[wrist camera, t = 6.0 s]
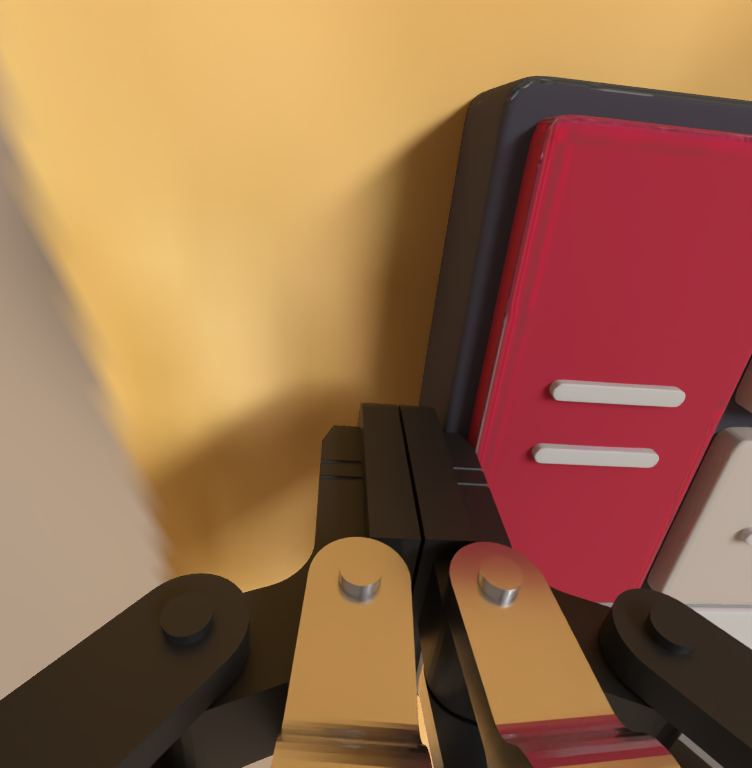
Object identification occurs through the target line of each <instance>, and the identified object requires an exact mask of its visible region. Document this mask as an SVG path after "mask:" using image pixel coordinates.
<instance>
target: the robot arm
mask: <svg viewBox="0 0 752 768" xmlns="http://www.w3.org/2000/svg"><path fill="white" fill-rule="evenodd" d="M481 469H482V467H481V465H480V462H479V459H478V457H477V454H476V452H475V449H474V448H473V447H472V446H471V445H470V444H469V443H468V442H467V441H466V440H465V439H464V438H463V437H462V436H461V435H460V434H459V433H448V432H442V429H441V425H440V422H439V419H438V416H437V412H436V410H435V408H434V407H421V406H407V405H398V407H397V405H390V404H375V403H361V404H360V410H359V418H358V426H357V427H350V426H333V427H332V429H331V430H330V431H329V432H328V434H327V435H326V436H325V438H324V439H323V440H322V450H321V463H320V477H319V490H318V504H317V519H316V533H315V546H314V550H313V552H312V555H311V556H310V558H309V560H308V561H307V563H306V564H305V565H304V566H303V567H302V568H301V569H300V570H299V571H298V572H297V573H295V574H294V575H292V576H291V577H289V578H288V579H286V580H284V581H282V582H279V583H277V584H274V585H271V586H267V587H263V588H260V589H256V590H252V591H248V592H245V593H242V591H241V590H240V589H239V588H238V587H237V586H236V585H235V584H234V583H232V582H231V581H229V580H228V579H225V578H223V577H220V576H217V575H212V574H202V573H201V574H190V575H185V576H180V577H177V578H174V579H171V580H169V581H167V582H165V583H163V584H161V585H160V586H158V587H156V588H155V589H153V590H152V591H150V592H149V593H148V594H146V595H145V596H144V597H142V598H141V599H140V600H138V601H137V602H135V603H134V604H133V605H131V606H130V607H128V608H127V609H126V610H124V611H123V612H122V613H120V614H119V615H117V616H116V617H115V618H113V619H112V620H110V621H109V622H108V623H106V624H105V625H104V626H102V627H101V628H100V629H98V630H97V631H95V632H94V633H93V634H91V635H90V636H88V637H87V638H86V639H84V640H83V641H82V642H80V643H79V644H77V645H76V646H75V647H73V648H72V649H71V650H69V651H68V652H66V653H65V654H64V655H62V656H61V657H60V658H58V659H57V660H55V661H54V662H53V663H51V664H50V665H48V666H47V667H46V668H44V669H43V670H42V671H40V672H39V673H37V674H36V675H35V676H33V677H32V678H31V679H29V680H28V681H27V682H25V683H24V684H22V685H21V686H20V687H18V688H17V689H15V690H14V691H13V692H11V693H10V694H9V695H7V696H6V697H4V698H3V699H2V700H0V768H242V767H244V766H246V765H249V764H251V763H254V762H256V761H259V760H261V759H264V758H266V757H269V756H271V755H273V759H272V764H271V768H432V765H431V759H430V755H429V752H428V749H427V747H426V745H424V744H422V742H421V738H420V733H419V724H418V706H417V687H416V668H415V649H414V641H420V644H421V651H422V658H423V666H422V670H421V673H420V678H419V687H418V688H419V696H420V701H421V706H422V711H423V716H424V721H425V726H426V731H427V736H428V741H429V746H430V751H431V757H432V762H433V767H434V768H712V767H711V766H710V765H709V764H708V763H706V762H705V761H704V760H703V759H702V758H700V757H699V756H698V755H697V754H696V753H695V752H693V751H692V750H691V749H690V748H689V747H688V746H686V745H685V744H684V743H683V742H682V741H680V740H679V739H678V738H679V737H680V736H681V735H682V733H683V734H684V735H685V736H686V737H688V738H689V739H690V740H691V741H692V742H694V743H695V744H696V745H697V746H698V747H700V748H701V749H702V750H703V751H704V752H705V753H707V754H708V755H709V756H710V757H711V758H713V759H714V760H715V761H716V762H717V763H719V764H720V765H721V766H722V767H723V768H752V649H750V648H749V647H747V646H746V645H744V644H743V643H741V642H740V641H739V640H737V639H736V638H734V637H733V636H731V635H730V634H728V633H727V632H725V631H724V630H722V629H721V628H719V627H718V626H716V625H715V624H713V623H712V622H711V621H709V620H708V619H706V618H705V617H703V616H702V615H700V614H699V613H697V612H696V611H694V610H693V609H691V608H690V607H688V606H687V605H685V604H684V603H682V602H680V601H679V600H677V599H675V598H673V597H671V596H669V595H666V594H664V593H661V592H658V591H654V590H651V589H643V588H634V589H630V590H626V591H624V592H622V593H621V594H620V595H619V596H617V598H616V600H615V601H614V603H613V605H612V607H608V606H605V605H602V604H599V603H596V602H592V601H589V600H586V599H583V598H580V597H576V596H573V595H570V594H567V593H564V592H562V591H559V590H557V589H555V588H553V587H551V586H549V585H548V583H547V581H546V579H545V578H544V576H543V574H542V573H541V571H540V570H539V569H538V568H537V566H536V565H535V564H534V563H533V562H532V561H531V560H530V559H528V558H527V557H526V556H524V555H523V554H521V553H520V552H518V551H516V550H515V549H513V548H512V546H511V543H510V540H509V538H508V535H507V533H506V530H505V527H504V525H503V522H502V520H501V517H500V514H499V512H498V509H497V506H496V504H495V501H494V499H493V496H492V493H491V491H490V488H489V487H487V484H488V483H487V480H486V478H485V475H484V472H482V470H481Z"/></svg>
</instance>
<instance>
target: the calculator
mask: <svg viewBox="0 0 752 768" xmlns="http://www.w3.org/2000/svg"><path fill="white" fill-rule="evenodd" d="M419 406H421V407H434V408H435V410H436V412H437V416H438V419H439V422H440V425H441V429H442V432H448V433H459V434H460V435H461V436H462V437H463V438H464V439H465V440H466V441H467V442H468V443H469V444H470V445H471V446H472V447H473V448H474V449H475V452H476V454H477V457H478V459H479V462H480V465H481V467H482V469H481V470H482V472H484V475H485V478H486V480H487V483H488V484H487V487H489V488H490V491H491V493H492V496H493V499H494V501H495V504H496V506H497V509H498V512H499V514H500V517H501V520H502V522H503V525H504V527H505V530H506V533H507V535H508V538H509V540H510V543H511V546H512V548H513V549H515V550H516V551H518V552H520V553H521V554H523V555H524V556H526V557H527V558H528V559H530V560H531V561H532V562H533V563H534V564H535V565H536V566H537V568H538V569H539V570H540V571H541V573H542V574H543V576H544V578H545V579H546V581H547V583H548V585H549V586H551V587H553V588H555V589H557V590H559V591H562V592H564V593H567V594H570V595H573V596H576V597H580V598H583V599H586V600H589V601H592V602H596V603H599V604H602V605H605V606H608V607H612V605H613V603H614V601H615V600H616V598H617V596H619V595H620V594H621V593H622V592H624V591H626V590H630V589H634V588H643V589H651V590H654V591H658V592H661V593H664V594H666V595H669V596H671V597H673V598H675V599H677V600H679V601H680V602H682V603H684V604H685V605H687V606H688V607H690V608H691V609H693V610H694V611H696V612H697V613H699V614H700V615H702V616H703V617H705V618H706V619H708V620H709V621H711V622H712V623H713V624H715V625H716V626H718V627H719V628H721V629H722V630H724V631H725V632H727V633H728V634H730V635H731V636H733V637H734V638H736V639H737V640H739V641H740V642H741V643H743V644H744V645H746V646H747V647H749V648H750V649H752V101H745V100H737V99H729V98H720V97H712V96H704V95H696V94H688V93H680V92H672V91H664V90H655V89H647V88H639V87H631V86H623V85H615V84H607V83H598V82H590V81H582V80H574V79H566V78H558V77H546V76H532V77H526V78H522V79H520V80H517V81H514V82H511V83H508V84H505V85H502V86H499V87H496V88H493V89H490V90H488V91H485V92H483V93H481V94H479V95H478V96H477V97H476V98H475V99H474V100H473V101H472V102H471V104H470V106H469V108H468V111H467V114H466V119H465V123H464V129H463V135H462V141H461V147H460V153H459V159H458V166H457V172H456V178H455V184H454V190H453V196H452V202H451V208H450V214H449V220H448V226H447V233H446V239H445V245H444V251H443V257H442V263H441V269H440V275H439V282H438V288H437V294H436V300H435V306H434V312H433V319H432V325H431V331H430V337H429V344H428V350H427V357H426V363H425V370H424V376H423V383H422V389H421V396H420V402H419ZM414 649H415V668H416V687H417V695H418V696H419V688H418V687H419V678H420V673H421V670H422V666H423V658H422V651H421V644H420V641H414ZM419 697H420V696H419Z"/></svg>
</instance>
